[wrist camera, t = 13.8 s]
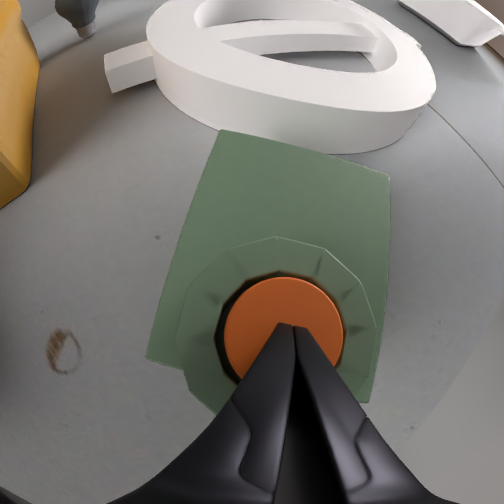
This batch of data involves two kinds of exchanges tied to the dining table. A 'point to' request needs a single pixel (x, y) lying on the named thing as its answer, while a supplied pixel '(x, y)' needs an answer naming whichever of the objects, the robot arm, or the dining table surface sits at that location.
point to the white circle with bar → (281, 71)
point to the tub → (457, 20)
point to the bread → (16, 101)
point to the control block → (275, 256)
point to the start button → (280, 319)
